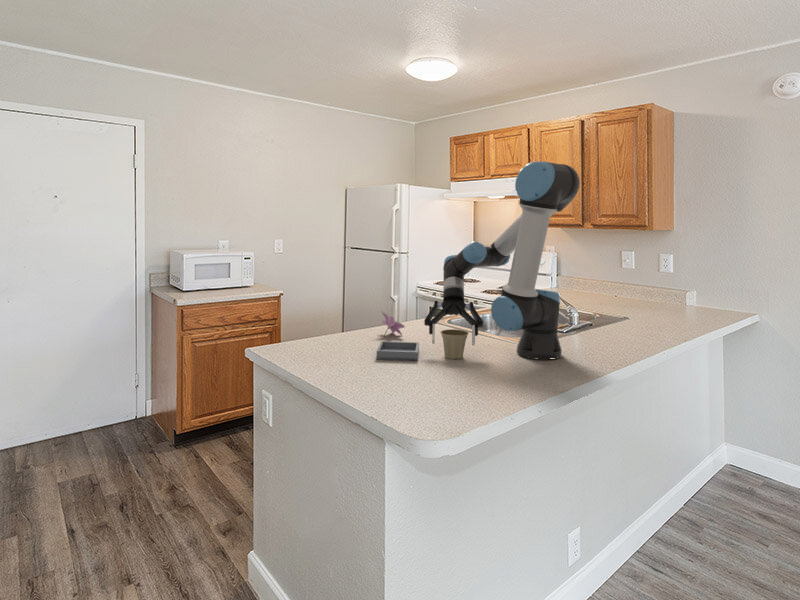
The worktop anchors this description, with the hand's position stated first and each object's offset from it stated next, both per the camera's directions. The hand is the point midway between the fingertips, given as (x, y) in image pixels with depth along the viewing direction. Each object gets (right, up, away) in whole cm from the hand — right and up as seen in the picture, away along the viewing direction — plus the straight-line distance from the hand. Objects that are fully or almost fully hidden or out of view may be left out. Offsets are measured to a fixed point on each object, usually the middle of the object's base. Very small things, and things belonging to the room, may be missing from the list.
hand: (453, 342), depth 170 cm
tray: (-19, -5, +3) cm, 19 cm away
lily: (-21, 0, +33) cm, 39 cm away
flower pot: (0, -5, +2) cm, 6 cm away
